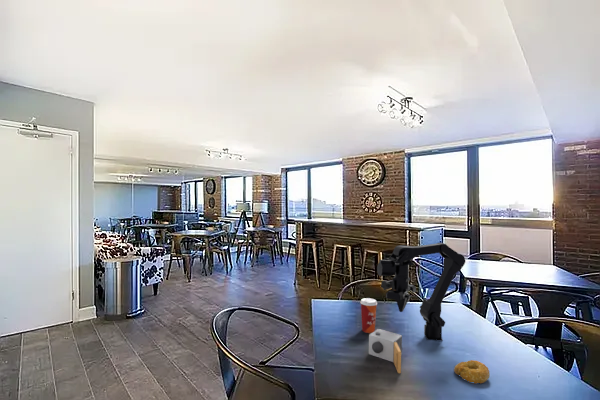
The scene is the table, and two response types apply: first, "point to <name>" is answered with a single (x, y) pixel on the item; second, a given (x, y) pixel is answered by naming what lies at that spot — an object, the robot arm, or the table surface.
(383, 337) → the white block
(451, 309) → the table surface
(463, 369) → the bagel
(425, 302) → the robot arm
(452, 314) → the table surface
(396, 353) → the side door
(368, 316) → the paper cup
